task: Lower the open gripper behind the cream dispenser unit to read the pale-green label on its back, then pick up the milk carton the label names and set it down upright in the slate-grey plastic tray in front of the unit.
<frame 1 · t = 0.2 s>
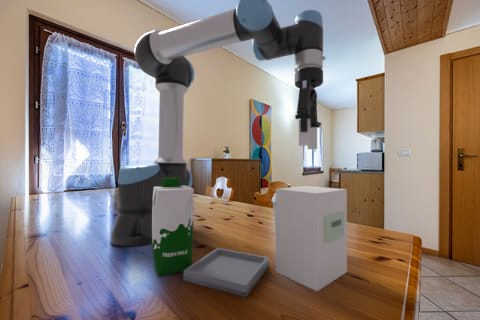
hand: (308, 147, 63), 28 cm above the table, fingers open, 13 cm apart
coffee cup: (288, 247, 65), on the table
milk carton: (172, 267, 52), on the table
dispenser unit: (311, 271, 50), on the table
tray: (229, 272, 49), on the table
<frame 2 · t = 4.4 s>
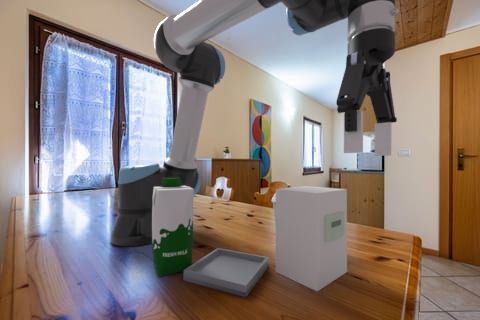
hand: (369, 154, 41), 25 cm above the table, fingers open, 13 cm apart
nothing on the table moved.
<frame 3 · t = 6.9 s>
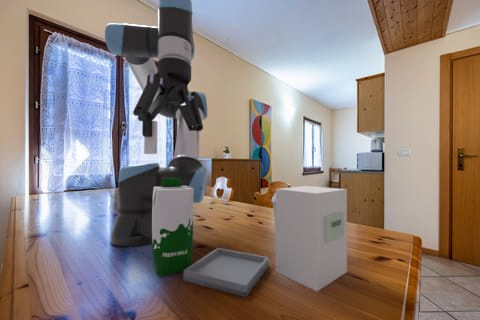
hand: (173, 155, 52), 25 cm above the table, fingers open, 13 cm apart
nothing on the table moved.
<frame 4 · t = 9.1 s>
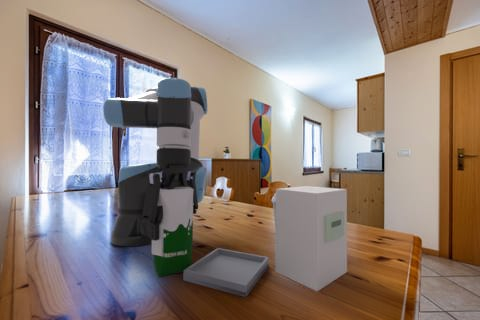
hand: (173, 246, 52), 4 cm above the table, fingers closed on milk carton, 9 cm apart
milk carton: (171, 267, 51), on the table, touching gripper
everything else where it was.
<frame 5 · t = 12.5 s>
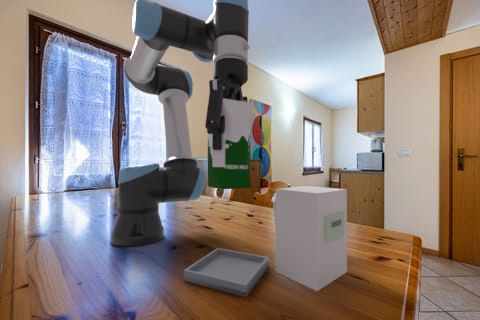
hand: (229, 166, 49), 23 cm above the table, fingers closed on milk carton, 9 cm apart
milk carton: (229, 188, 49), point 18 cm above the table, touching gripper, hand
everything else where it was.
when the fingers open (7 cm above the table, at t = 15.8 s): milk carton drops 2 cm, resting on tray.
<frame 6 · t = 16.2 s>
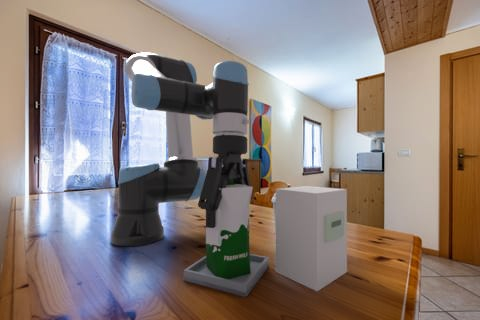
hand: (229, 234, 49), 8 cm above the table, fingers open, 13 cm apart
milk carton: (228, 271, 48), point 1 cm above the table, touching tray
everything else where it was.
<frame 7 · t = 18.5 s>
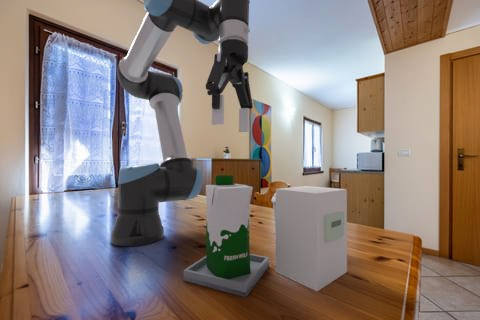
hand: (231, 128, 58), 32 cm above the table, fingers open, 13 cm apart
nothing on the table moved.
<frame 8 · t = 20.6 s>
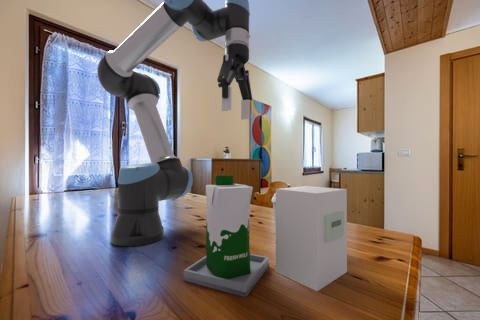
hand: (236, 115, 71), 39 cm above the table, fingers open, 13 cm apart
nothing on the table moved.
at the end: milk carton inside the target area on the tray (0.7 cm from its centre), point 0.6 cm above the tray's base; milk carton tilted 0°; the gripper is holding nothing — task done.
